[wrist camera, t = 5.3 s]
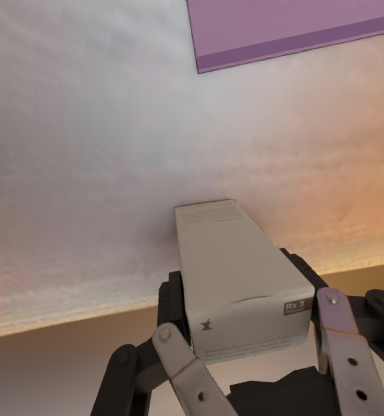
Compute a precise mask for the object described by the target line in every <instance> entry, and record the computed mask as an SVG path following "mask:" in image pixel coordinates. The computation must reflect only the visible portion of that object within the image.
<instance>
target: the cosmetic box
mask: <svg viewBox="0 0 384 416" xmlns="http://www.w3.org/2000/svg"><path fill="white" fill-rule="evenodd" d="M174 213H175V220H176V230H177V240H178V249H179V259H180V267H181V274H182V281H183V286H184V297H185V310H186V315H187V319H188V324H189V329H190V334H191V339H192V344H193V352H194V354H195V355H196V357H199V358H200V359H201V360H202V362H203V363H204V365H210V364H214V363H219V362H225V361H230V360H235V359H240V358H245V357H250V356H255V355H260V354H265V353H270V352H275V351H280V350H285V349H290V348H296V347H302V346H305V345H306V341H307V337H308V331H309V324H310V317H311V311H312V303H313V296H314V293H315V288H314V286H313V285H312V284H311V283H310V282H309V281H308V280H307V279H306V278H305V277H304V275H303V274H302V273H301V272H300V271H299V270H298V269H297V268H296V267H295V266H294V265H293V264H292V262H291V261H290V260H289V259H288V258H287V257H286V256H285V255H284V254H283V253H282V252H281V251H280V249H279V248H278V247H277V246H276V245H275V244H274V243H273V242H272V241H271V240H270V239H269V237H268V236H267V235H266V234H265V233H264V232H263V231H262V230H261V229H260V228H259V226H258V225H257V224H256V223H255V222H254V221H253V220H252V219H251V218H250V216H249V215H248V214H247V213H246V212H245V211H244V210H243V209H242V208H241V207H240V206H239V204H238V203H237V202H236V201H235V200H234V199H230V200H224V201H217V202H210V203H203V204H196V205H189V206H182V207H176V208H174Z"/></svg>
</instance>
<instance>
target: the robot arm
mask: <svg viewBox="0 0 384 416" xmlns="http://www.w3.org/2000/svg"><path fill="white" fill-rule="evenodd" d="M280 251H281V252H282V253H283V254H284V255H285V256H286V257H287V258H288V259H289V260H290V261H291V262H292V264H293V265H294V266H295V267H296V268H297V269H298V270H299V271H300V272H301V273H302V274H303V275H304V277H305V278H306V279H307V280H308V281H309V282H310V283H311V284H312V285H313V286H314V288H315V293H314V296H313V303H312V311H311V317H310V320H311V321H312V322H313V323H314V335H315V341H316V349H317V356H318V364H319V373H318V371H317V369H316V368H315V366H312V367H308V368H303V369H299V370H295V371H293V372H291V373H290V374H288V375H286V376H285V377H283V378H282V379H280V380H279V381H277V382H260V381H247V382H243V383H238V384H234V385H230V391H231V393H230V394H228V395H227V396H225V395H224V393H223V392H222V390H221V389H220V387H219V386H218V384H217V383H216V381H215V380H214V378H213V377H212V376H211V374H210V372H209V371H208V369H207V368H206V366H205V365H204V363H203V362H202V360H201V359H200V358H199V357H196V355H195V354H194V352H193V351H192V349H191V348H190V346H191V336H190V329H189V324H188V319H187V315H186V310H185V297H184V286H183V281H182V275H181V272H180V270H179V271H174V272H170V273H169V281H167V282H163V283H162V284H161V286H160V288H159V300H158V302H159V303H158V319H157V328H156V330H155V331H154V333H153V336H152V337H151V338H150V339H149V340H147V341H146V342H144V343H143V344H141V345H139V346H137V347H135V346H134V345H131V344H126V345H123V346H121V347H119V348H118V349H117V350H116V351H115V352H114V353H113V354H112V356H111V358H110V360H109V363H108V366H107V369H106V372H105V375H104V378H103V381H102V383H101V387H100V389H99V392H98V395H97V398H96V401H95V403H94V406H93V410H92V412H91V415H90V416H148V411H149V405H150V399H151V393H152V390H153V389H155V388H156V387H158V386H159V385H161V384H162V383H164V382H165V381H167V380H169V382H170V384H171V386H172V388H173V390H174V392H175V394H176V396H177V399H178V401H179V403H180V405H181V407H182V409H183V411H184V414H185V416H384V388H383V385H382V382H381V379H380V377H379V373H378V371H377V368H376V365H375V362H374V359H373V356H372V353H371V351H370V348H371V349H372V350H373V351H374V352H375V353H376V354H377V355H378V356H379V357H380V358H381V359H382V360H383V361H384V291H383V290H378V289H374V290H369V291H367V292H366V295H365V297H360V296H359V297H358V296H347V295H345V294H344V293H342V292H341V291H339V290H337V289H335V288H331V287H329V286H328V285H327V284H326V283H325V282H324V281H323V280H322V279H321V278H320V277H319V276H318V275H317V273H316V272H315V271H314V270H313V269H312V268H311V267H310V266H309V265H308V264H307V263H306V262H305V261H304V260H303V259H302V258H301V257H299V256H298V255H296V254H289V252H288V251H287V250H286V249H285V248H280ZM369 347H370V348H369Z"/></svg>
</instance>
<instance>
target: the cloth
mask: <svg viewBox="0 0 384 416" xmlns="http://www.w3.org/2000/svg"><path fill="white" fill-rule="evenodd" d="M187 5H188V11H189V18H190V24H191V31H192V37H193V43H194V50H195V56H196V63H197V69H198V74H199V73H204V72H209V71H213V70H218V69H223V68H227V67H232V66H236V65H241V64H246V63H250V62H255V61H260V60H264V59H269V58H274V57H278V56H283V55H287V54H292V53H297V52H301V51H306V50H311V49H315V48H320V47H325V46H329V45H334V44H338V43H343V42H348V41H352V40H357V39H362V38H366V37H371V36H375V35H380V34H384V0H187Z"/></svg>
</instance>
